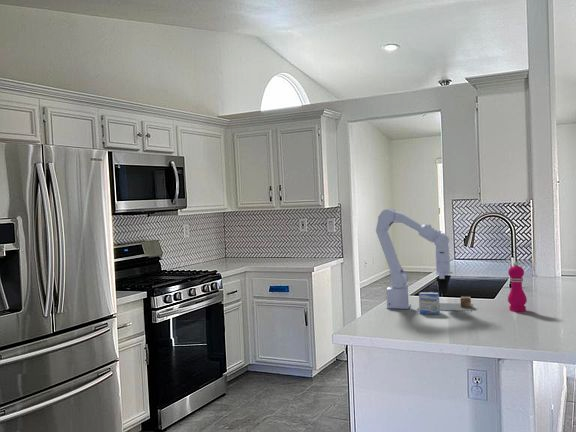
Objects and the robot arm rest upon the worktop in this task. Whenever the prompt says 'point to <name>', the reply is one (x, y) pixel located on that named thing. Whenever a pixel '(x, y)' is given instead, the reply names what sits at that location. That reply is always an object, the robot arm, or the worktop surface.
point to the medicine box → (429, 303)
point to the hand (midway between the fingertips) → (444, 293)
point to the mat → (452, 307)
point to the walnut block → (465, 302)
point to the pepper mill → (516, 289)
